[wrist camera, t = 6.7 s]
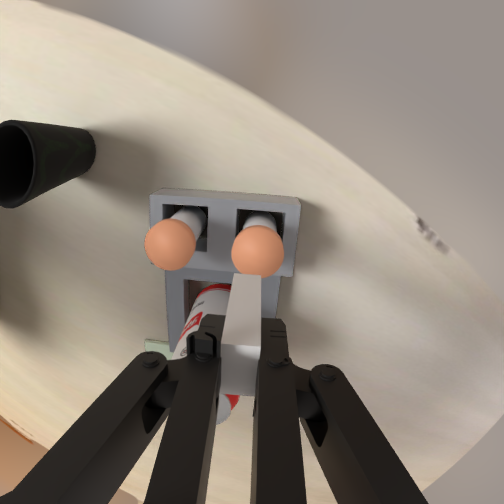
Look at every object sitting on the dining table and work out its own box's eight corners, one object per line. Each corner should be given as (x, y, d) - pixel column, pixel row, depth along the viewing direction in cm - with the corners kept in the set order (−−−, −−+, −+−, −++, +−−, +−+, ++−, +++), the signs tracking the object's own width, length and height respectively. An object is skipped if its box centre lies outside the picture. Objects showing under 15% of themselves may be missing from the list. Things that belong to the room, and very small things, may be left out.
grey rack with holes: (167, 339, 39) (158, 358, 35) (162, 187, 33) (149, 194, 29) (277, 350, 39) (278, 371, 35) (297, 197, 32) (300, 205, 29)
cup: (114, 137, 31) (48, 142, 20) (87, 196, 33) (21, 224, 22) (67, 109, 30) (-4, 107, 18) (43, 166, 32) (-26, 184, 21)
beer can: (191, 318, 38) (153, 417, 23) (202, 273, 36) (162, 365, 21) (241, 333, 38) (227, 437, 23) (256, 289, 36) (249, 389, 21)
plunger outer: (238, 243, 33) (230, 276, 25) (241, 204, 32) (232, 227, 24) (278, 246, 33) (281, 280, 25) (282, 208, 32) (286, 231, 24)
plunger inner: (172, 237, 33) (145, 268, 25) (172, 200, 32) (143, 220, 24) (209, 240, 33) (192, 272, 25) (211, 202, 32) (193, 223, 24)
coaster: (151, 382, 42) (150, 385, 42) (145, 339, 39) (144, 341, 39) (206, 391, 42) (205, 394, 41) (205, 347, 39) (204, 350, 39)
